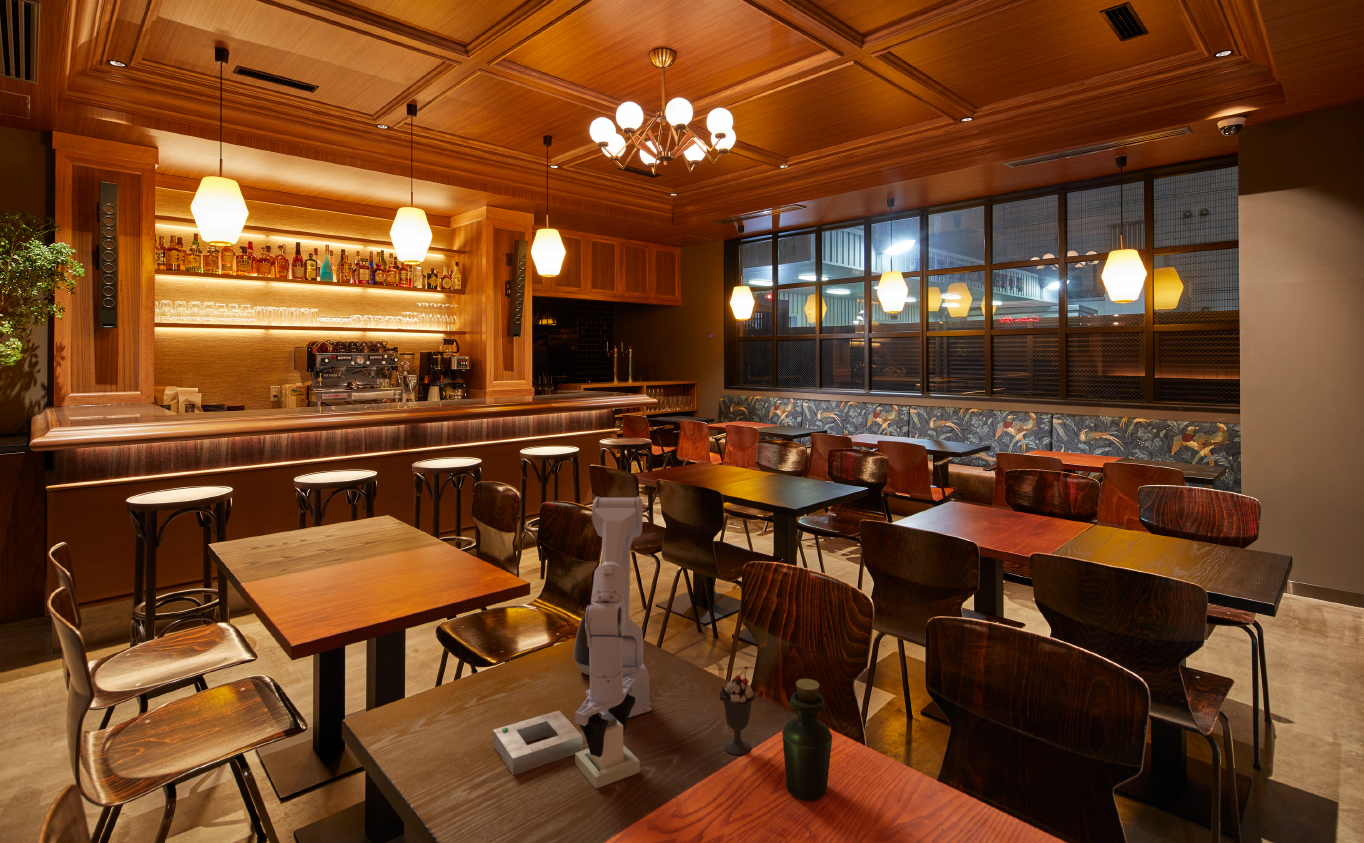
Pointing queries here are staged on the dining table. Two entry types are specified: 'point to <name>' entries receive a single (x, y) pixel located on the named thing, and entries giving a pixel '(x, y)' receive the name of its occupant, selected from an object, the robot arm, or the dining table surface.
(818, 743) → the potion bottle
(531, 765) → the port block
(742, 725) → the sundae
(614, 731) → the plug
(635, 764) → the beige square frame
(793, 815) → the dining table surface
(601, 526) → the robot arm
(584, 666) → the dark grey rounded figure
